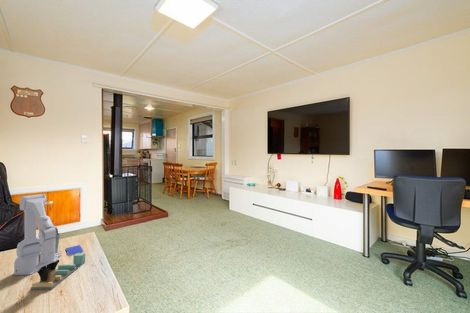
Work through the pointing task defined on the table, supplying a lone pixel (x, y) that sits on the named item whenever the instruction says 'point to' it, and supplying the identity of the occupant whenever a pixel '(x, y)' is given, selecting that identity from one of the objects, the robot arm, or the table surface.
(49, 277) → the walnut plug
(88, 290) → the table surface
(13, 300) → the table surface
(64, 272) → the slot comb
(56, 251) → the grey-green bucket
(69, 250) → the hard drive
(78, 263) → the teal plug
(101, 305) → the table surface
